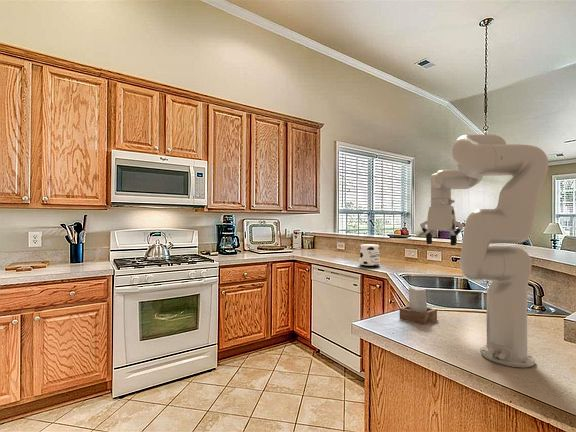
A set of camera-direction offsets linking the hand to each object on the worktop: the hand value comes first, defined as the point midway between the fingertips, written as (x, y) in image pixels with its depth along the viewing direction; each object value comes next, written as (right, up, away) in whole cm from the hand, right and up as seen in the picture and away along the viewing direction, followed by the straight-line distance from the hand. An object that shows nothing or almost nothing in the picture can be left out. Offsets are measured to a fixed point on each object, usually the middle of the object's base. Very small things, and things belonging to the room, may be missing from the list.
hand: (441, 244), depth 130 cm
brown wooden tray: (-12, -29, -6) cm, 32 cm away
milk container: (+6, -31, +135) cm, 138 cm away
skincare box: (-12, -29, -6) cm, 32 cm away
